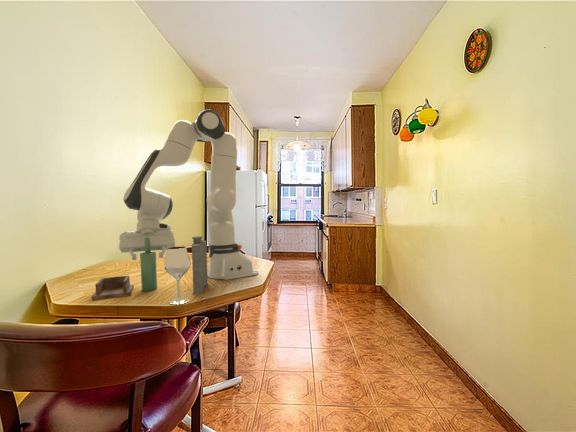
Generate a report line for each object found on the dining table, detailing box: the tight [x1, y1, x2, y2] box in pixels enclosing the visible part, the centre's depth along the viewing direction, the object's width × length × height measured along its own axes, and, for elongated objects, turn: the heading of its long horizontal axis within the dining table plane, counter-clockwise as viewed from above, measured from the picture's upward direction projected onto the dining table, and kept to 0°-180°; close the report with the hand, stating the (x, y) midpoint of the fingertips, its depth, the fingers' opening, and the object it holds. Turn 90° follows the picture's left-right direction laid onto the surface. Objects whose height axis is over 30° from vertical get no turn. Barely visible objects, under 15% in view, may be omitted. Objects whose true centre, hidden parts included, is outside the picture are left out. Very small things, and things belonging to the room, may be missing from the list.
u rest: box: [91, 274, 135, 301], centre depth 115 cm, size 12×12×5 cm
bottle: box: [139, 237, 158, 292], centre depth 119 cm, size 6×6×20 cm
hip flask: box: [191, 236, 209, 295], centre depth 118 cm, size 16×4×20 cm, turn 6°
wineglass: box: [163, 246, 192, 306], centre depth 102 cm, size 8×8×18 cm
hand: (147, 258), depth 120 cm, fingers open, 8 cm apart
